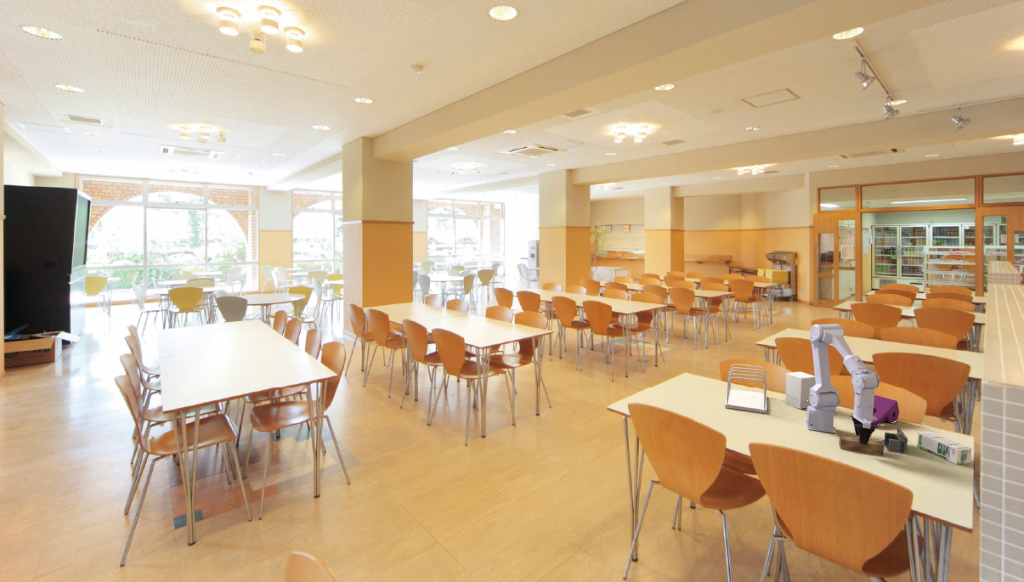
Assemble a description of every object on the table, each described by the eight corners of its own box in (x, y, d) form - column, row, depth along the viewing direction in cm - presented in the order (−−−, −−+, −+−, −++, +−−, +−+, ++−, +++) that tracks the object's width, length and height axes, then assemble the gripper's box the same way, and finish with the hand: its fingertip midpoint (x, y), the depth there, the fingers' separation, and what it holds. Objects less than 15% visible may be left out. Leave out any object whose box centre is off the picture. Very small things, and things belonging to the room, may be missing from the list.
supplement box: (815, 407, 218) (817, 376, 216) (800, 409, 216) (801, 378, 214) (799, 401, 227) (801, 371, 225) (784, 403, 224) (785, 372, 223)
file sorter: (766, 414, 212) (768, 381, 210) (724, 408, 220) (725, 376, 218) (766, 396, 234) (767, 366, 232) (728, 392, 242) (729, 362, 240)
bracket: (887, 451, 175) (889, 435, 174) (881, 440, 183) (882, 425, 183) (906, 453, 172) (907, 438, 171) (898, 442, 181) (899, 428, 180)
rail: (840, 449, 177) (841, 439, 177) (838, 445, 180) (839, 435, 180) (883, 456, 172) (884, 445, 171) (880, 452, 175) (881, 441, 174)
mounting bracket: (877, 441, 196) (900, 416, 201) (873, 425, 193) (897, 400, 199) (852, 432, 204) (876, 409, 210) (848, 417, 202) (872, 394, 207)
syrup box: (917, 432, 177) (958, 449, 163) (931, 431, 178) (973, 448, 163) (916, 446, 178) (956, 465, 163) (929, 445, 178) (971, 464, 164)
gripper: (882, 413, 166) (879, 449, 167) (872, 399, 178) (870, 433, 180) (857, 410, 169) (855, 445, 170) (850, 397, 182) (847, 430, 183)
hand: (861, 439), depth 175 cm, fingers open, 7 cm apart
